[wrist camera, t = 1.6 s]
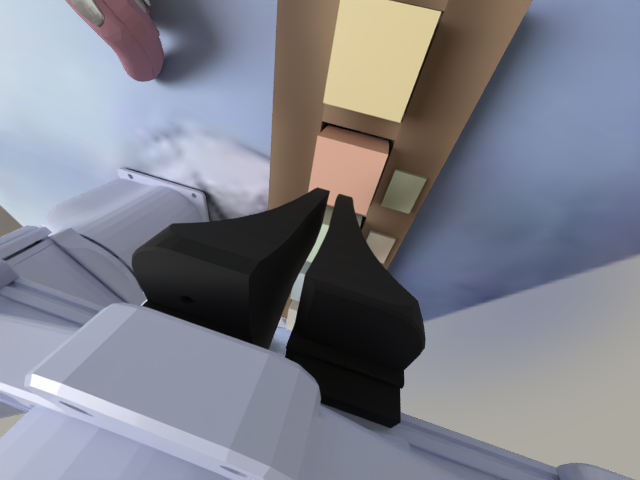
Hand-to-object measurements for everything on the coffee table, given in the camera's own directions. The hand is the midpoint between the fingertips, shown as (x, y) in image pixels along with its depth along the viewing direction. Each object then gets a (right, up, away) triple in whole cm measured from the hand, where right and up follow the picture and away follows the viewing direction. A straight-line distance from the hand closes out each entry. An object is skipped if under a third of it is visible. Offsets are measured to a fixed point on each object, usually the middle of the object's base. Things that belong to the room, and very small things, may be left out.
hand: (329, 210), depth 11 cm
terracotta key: (+2, +4, +5) cm, 7 cm away
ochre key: (+3, +8, +2) cm, 9 cm away
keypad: (+1, +1, +10) cm, 10 cm away
